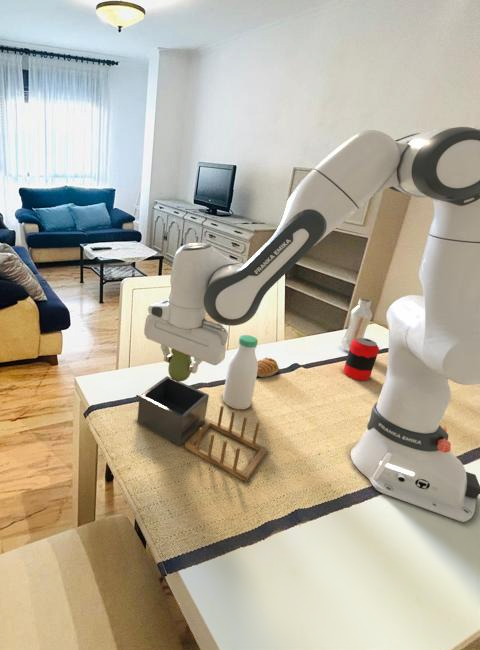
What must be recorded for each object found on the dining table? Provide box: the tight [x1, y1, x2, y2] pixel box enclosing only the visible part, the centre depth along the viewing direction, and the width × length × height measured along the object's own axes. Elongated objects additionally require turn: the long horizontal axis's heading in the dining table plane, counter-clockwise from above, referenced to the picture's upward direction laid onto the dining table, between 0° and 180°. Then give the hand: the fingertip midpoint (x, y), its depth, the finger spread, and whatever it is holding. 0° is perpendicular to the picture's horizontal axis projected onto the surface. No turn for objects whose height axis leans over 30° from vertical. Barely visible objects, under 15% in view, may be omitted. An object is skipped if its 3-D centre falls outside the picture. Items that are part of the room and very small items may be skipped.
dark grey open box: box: [136, 375, 210, 447], centre depth 97 cm, size 13×13×8 cm
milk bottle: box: [222, 334, 258, 410], centre depth 105 cm, size 8×8×20 cm
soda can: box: [342, 337, 380, 381], centre depth 123 cm, size 8×8×12 cm
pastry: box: [257, 357, 280, 378], centre depth 123 cm, size 9×7×4 cm
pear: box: [167, 348, 193, 382], centre depth 92 cm, size 6×5×10 cm
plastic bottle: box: [340, 297, 373, 352], centre depth 138 cm, size 6×7×20 cm
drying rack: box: [184, 405, 268, 482], centre depth 89 cm, size 15×12×7 cm
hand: (179, 366), depth 92 cm, fingers closed on pear, 5 cm apart
